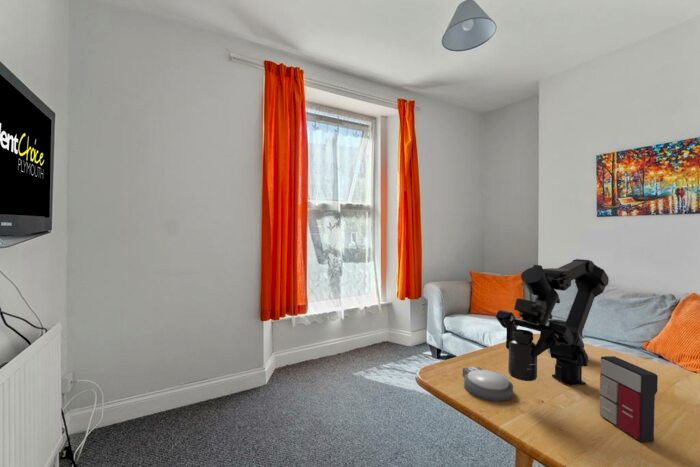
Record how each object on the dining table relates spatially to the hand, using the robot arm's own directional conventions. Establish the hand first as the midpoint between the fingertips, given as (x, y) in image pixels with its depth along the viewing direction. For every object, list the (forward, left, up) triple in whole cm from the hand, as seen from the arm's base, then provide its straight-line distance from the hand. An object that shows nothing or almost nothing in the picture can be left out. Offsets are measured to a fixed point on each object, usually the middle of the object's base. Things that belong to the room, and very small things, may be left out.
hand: (519, 352), depth 86 cm
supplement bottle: (-1, 0, -7) cm, 7 cm away
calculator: (-19, +12, -14) cm, 26 cm away
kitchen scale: (+4, -10, -14) cm, 18 cm away
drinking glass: (-41, -32, -14) cm, 54 cm away
